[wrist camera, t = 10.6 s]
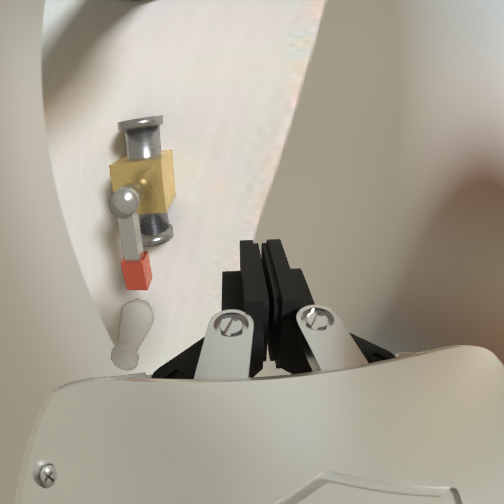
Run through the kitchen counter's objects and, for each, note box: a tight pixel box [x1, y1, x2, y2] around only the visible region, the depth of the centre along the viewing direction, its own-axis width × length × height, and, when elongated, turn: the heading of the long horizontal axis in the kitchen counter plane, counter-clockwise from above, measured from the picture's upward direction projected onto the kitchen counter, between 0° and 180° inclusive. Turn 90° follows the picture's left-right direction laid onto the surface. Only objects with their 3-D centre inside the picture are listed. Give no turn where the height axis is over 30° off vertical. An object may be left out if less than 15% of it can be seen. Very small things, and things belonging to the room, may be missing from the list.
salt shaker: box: [111, 298, 154, 370], centre depth 41 cm, size 6×6×13 cm
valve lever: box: [109, 183, 152, 290], centre depth 29 cm, size 12×3×3 cm, turn 178°
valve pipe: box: [109, 116, 176, 247], centre depth 32 cm, size 16×6×9 cm, turn 0°
